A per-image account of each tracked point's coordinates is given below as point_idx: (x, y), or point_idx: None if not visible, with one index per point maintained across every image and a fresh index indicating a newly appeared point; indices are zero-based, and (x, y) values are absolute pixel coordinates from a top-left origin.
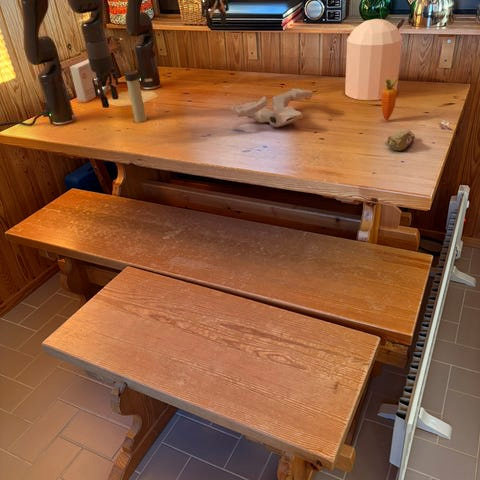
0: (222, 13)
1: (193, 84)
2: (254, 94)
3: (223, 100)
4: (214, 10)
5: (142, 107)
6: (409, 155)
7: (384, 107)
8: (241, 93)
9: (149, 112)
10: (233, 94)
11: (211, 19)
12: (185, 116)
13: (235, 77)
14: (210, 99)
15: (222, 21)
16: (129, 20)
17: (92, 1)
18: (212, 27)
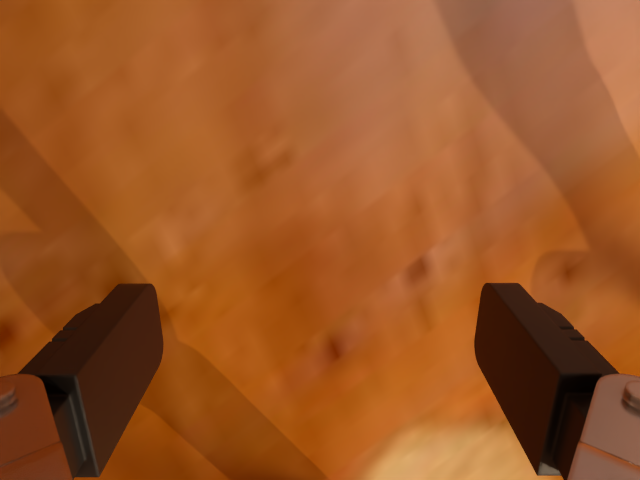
0: (71, 433)
1: (215, 401)
2: (202, 12)
3: (352, 122)
4: (584, 474)
5: None
6: None
7: None
8: (221, 98)
9: (591, 335)
10: (252, 131)
11: (581, 356)
12: (608, 153)
13: (30, 291)
14: (362, 196)
15: (146, 345)
16: None
17: None
18: (506, 283)
